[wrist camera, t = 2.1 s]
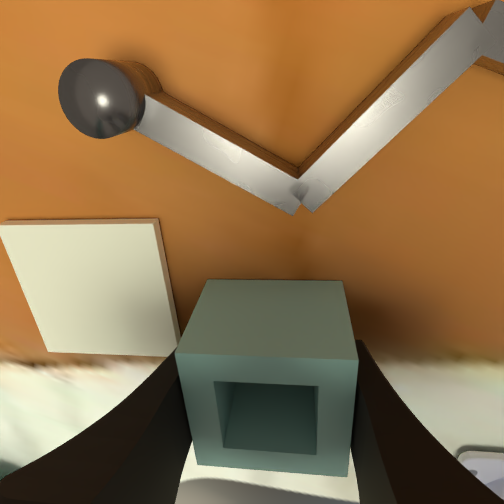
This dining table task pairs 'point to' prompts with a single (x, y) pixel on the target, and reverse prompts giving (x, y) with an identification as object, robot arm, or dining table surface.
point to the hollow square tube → (270, 376)
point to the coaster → (96, 284)
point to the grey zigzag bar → (255, 157)
